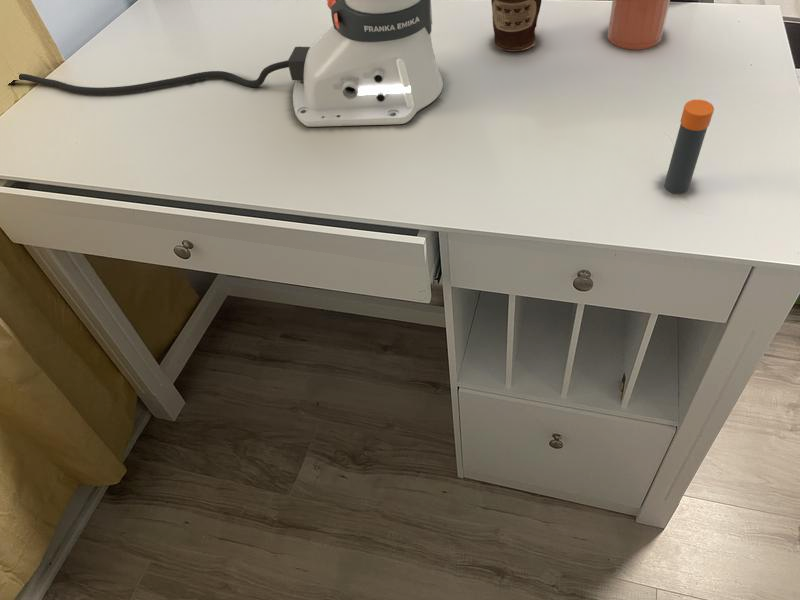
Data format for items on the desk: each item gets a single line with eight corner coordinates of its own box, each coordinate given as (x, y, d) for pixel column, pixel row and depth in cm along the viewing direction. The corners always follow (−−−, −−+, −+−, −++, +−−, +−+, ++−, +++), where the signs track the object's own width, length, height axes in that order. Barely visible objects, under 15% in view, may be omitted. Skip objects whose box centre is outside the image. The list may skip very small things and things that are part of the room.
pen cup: (617, 52, 100) (628, -14, 93) (600, 27, 106) (610, -38, 98) (669, 45, 100) (684, -22, 93) (650, 20, 106) (663, -46, 98)
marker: (668, 196, 79) (691, 117, 71) (659, 180, 81) (680, 101, 73) (693, 192, 79) (718, 112, 71) (683, 176, 81) (707, 97, 73)
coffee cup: (540, 58, 101) (546, -29, 91) (485, 57, 103) (486, -29, 93) (543, 29, 107) (549, -56, 97) (491, 29, 108) (492, -55, 99)
